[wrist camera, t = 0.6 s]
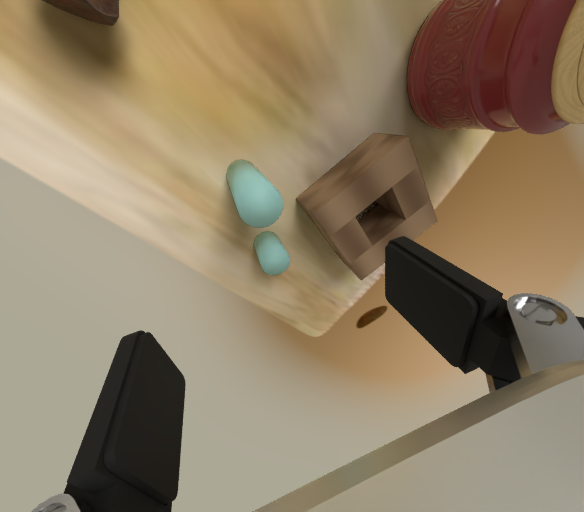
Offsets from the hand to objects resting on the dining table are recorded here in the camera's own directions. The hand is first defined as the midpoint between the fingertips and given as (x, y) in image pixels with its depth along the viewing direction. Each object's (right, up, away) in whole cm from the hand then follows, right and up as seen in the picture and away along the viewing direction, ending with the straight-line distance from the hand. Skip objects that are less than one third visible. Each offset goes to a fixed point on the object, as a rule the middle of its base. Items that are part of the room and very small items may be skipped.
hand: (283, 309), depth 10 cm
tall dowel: (-5, +11, +18) cm, 21 cm away
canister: (+19, +24, +19) cm, 36 cm away
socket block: (+9, +9, +24) cm, 27 cm away
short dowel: (-3, +4, +23) cm, 23 cm away
